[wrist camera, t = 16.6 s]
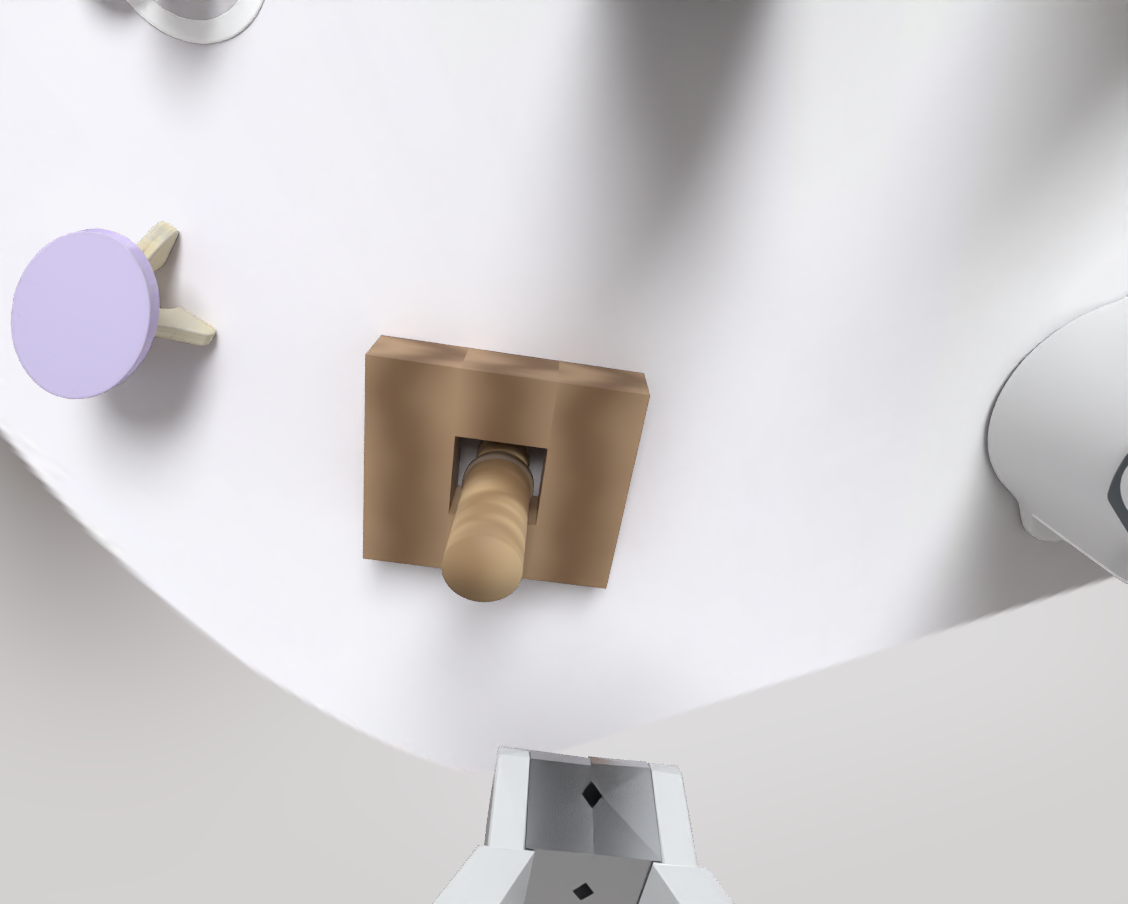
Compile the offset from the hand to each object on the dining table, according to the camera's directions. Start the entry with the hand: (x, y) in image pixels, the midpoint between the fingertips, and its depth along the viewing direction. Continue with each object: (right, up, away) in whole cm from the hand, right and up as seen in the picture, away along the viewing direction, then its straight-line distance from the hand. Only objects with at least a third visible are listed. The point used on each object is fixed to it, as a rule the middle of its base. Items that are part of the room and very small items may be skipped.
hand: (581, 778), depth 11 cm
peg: (-4, +5, +33) cm, 33 cm away
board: (-4, +5, +32) cm, 33 cm away
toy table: (-25, +15, +28) cm, 40 cm away
